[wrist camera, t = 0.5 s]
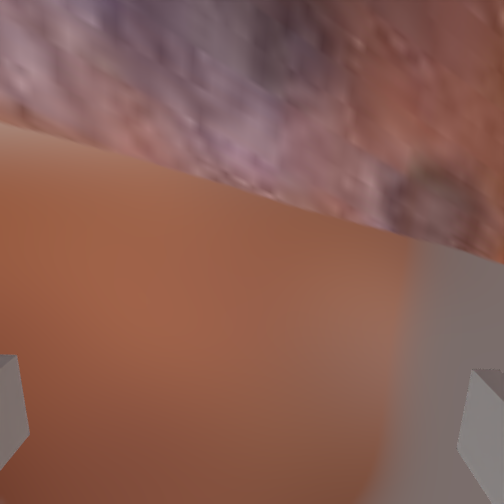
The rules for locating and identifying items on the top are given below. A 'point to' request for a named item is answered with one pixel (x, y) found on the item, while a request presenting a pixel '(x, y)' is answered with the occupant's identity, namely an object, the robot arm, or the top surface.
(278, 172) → the top surface
